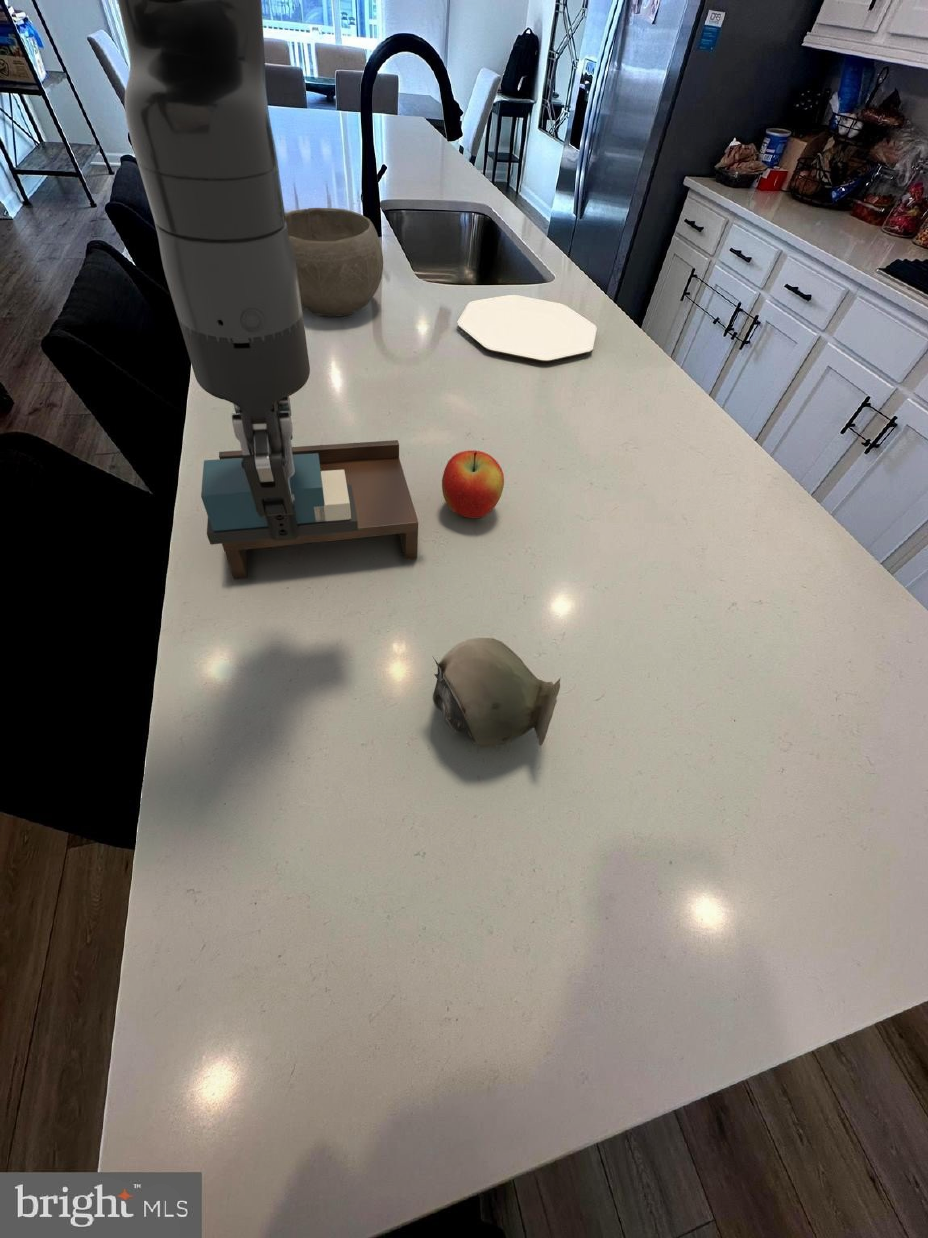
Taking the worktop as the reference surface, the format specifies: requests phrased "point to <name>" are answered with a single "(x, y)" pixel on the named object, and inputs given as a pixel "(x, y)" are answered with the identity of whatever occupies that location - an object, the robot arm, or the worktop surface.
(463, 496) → the apple
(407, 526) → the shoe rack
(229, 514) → the teal eraser block
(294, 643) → the worktop surface
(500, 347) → the plate
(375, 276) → the bowl
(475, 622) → the worktop surface
